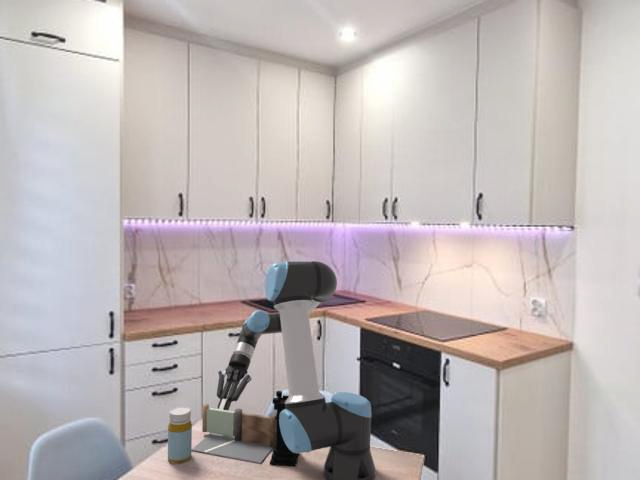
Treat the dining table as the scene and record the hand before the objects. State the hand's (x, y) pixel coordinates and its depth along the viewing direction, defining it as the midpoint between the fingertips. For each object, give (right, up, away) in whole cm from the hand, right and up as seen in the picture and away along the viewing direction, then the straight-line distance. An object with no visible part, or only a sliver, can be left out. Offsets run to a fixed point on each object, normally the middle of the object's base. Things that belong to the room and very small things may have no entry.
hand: (219, 418), depth 153 cm
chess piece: (+24, -7, -15) cm, 29 cm away
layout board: (+7, -6, -7) cm, 12 cm away
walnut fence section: (+13, -6, -6) cm, 15 cm away
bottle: (-9, -6, -16) cm, 19 cm away
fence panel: (0, -4, -2) cm, 5 cm away
